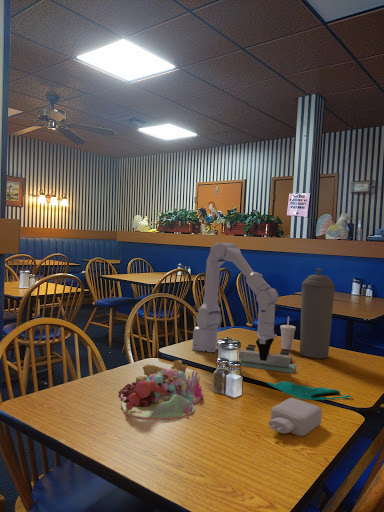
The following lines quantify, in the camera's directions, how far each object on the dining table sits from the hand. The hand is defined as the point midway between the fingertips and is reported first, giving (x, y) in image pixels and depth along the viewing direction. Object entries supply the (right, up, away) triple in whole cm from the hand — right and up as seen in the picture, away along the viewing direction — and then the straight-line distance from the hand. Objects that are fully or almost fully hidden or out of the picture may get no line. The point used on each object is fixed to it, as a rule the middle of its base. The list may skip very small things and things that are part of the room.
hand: (263, 359), depth 147 cm
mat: (0, -2, 0) cm, 2 cm away
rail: (0, -2, 0) cm, 2 cm away
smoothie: (+14, -2, +23) cm, 27 cm away
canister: (+23, -3, +16) cm, 28 cm away
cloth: (+9, -5, -24) cm, 26 cm away
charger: (-2, -5, -49) cm, 49 cm away
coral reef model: (-34, -3, -35) cm, 49 cm away
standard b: (+9, -2, +8) cm, 12 cm away
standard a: (-3, -2, +12) cm, 12 cm away
